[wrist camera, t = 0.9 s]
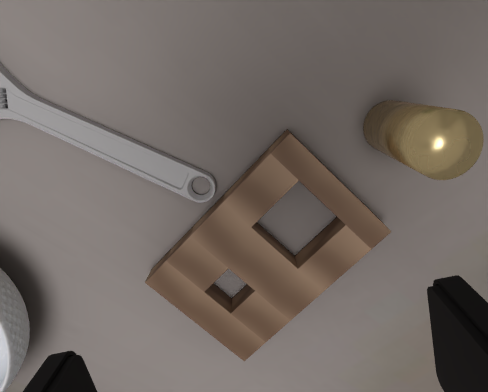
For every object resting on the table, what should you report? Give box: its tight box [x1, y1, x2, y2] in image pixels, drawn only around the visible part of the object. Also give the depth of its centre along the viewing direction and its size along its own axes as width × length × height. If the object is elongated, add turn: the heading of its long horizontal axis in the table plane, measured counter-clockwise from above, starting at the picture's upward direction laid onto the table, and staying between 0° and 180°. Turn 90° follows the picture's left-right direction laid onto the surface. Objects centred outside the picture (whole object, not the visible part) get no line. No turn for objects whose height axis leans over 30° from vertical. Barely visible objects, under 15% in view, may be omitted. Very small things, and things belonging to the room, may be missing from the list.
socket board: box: [145, 130, 391, 361], centre depth 35 cm, size 18×12×2 cm, turn 137°
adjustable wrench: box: [0, 63, 216, 203], centre depth 33 cm, size 25×6×2 cm, turn 60°
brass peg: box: [363, 100, 483, 180], centre depth 28 cm, size 4×4×10 cm
